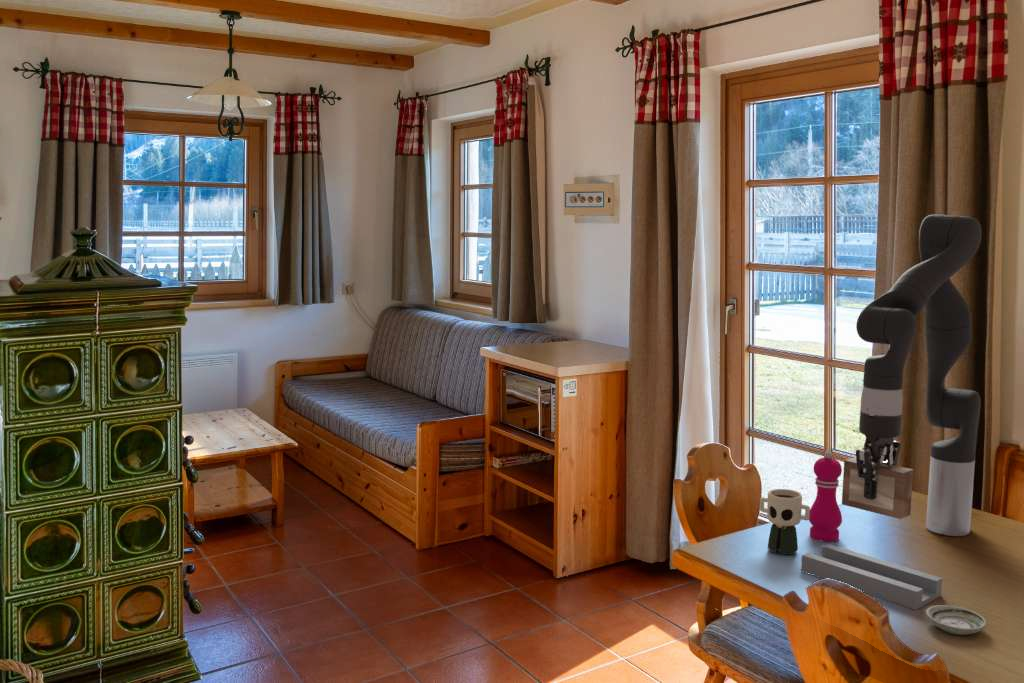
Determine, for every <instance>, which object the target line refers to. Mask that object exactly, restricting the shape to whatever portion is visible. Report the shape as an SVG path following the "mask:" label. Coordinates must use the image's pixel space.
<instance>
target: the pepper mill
mask: <svg viewBox="0 0 1024 683" xmlns="http://www.w3.org/2000/svg"><path fill="white" fill-rule="evenodd" d="M823 455H824V457H820V458H818V459H817V460H816V461H815V462H814V464H813V473H814V474H815V476H816V477H815V479H814V480H815V483H814V484H815V485H816V489H817V491H816V497H815V500H814V501H813V504H812V505H811V507H810V518H809V520H808V522H809V523H810V524H811V527H810V528H809V537H811V538H812V539H814V540H816V541H821V542H828V543H829V542H836V541H838V540H839V539H840V530H839V529H838V528H839V527H840V526H841V524H842V523H843V515H842V512H841V509H840V507H839V504H838V501H837V497H836V496H837V488H838V487H839V479H838V478H840V477H841V474H842V473H843V471H842V470H843V468H842V464H841V463H840V462H839V461H838V460H837V459H836V458H833V452H831V451H829V450H827V451H825V452H824V454H823Z"/></svg>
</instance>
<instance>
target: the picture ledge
mask: <svg viewBox="0 0 1024 683" xmlns="http://www.w3.org/2000/svg"><path fill="white" fill-rule="evenodd" d="M821 554H822V555H821V556H820V555H816V554H813V553H810V552H805V553H804V554H802V555H801V566H800V567H801V570H800V572H801V571H804V572H807V573H810V574H814V575H816V576H819V577H820V578H819V577H818V578H819V579H822V578H830V579H834V580H837V581H841V582H844V583H847V584H849V585H851V586H853V587H855V588H857V589H860V590H862V591H864V592H866V593H865V594H867V595H870V596H873V595H874V596H873V597H875V598H876V597H877V598H879V599H883V600H885V601H888V602H892V603H894V604H896V605H901V606H903V607H906V608H909V609H912V610H915V611H917V610H919V609H921V608H922V607H924V606H925V605H927V604H929V603H931V602H933V601H935V600H936V599H938V598H940V597H942V586H943V578H942V577H940V576H936V575H933V574H929V573H926V572H923V571H920V570H916V569H913V568H909V567H906V566H903V565H899V564H897V563H893V562H890V561H888V560H884V559H880V558H876V557H873V556H870V555H867V554H863V553H860V552H856V551H853V550H851V549H846V548H844V547H839V546H836V545H833V544H830V543H828V544H825V545H823V546H822V552H821ZM804 572H803V573H804ZM807 573H806V574H807ZM810 574H809V575H810ZM816 576H815V577H816ZM864 592H863V593H864Z"/></svg>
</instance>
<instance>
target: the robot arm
mask: <svg viewBox="0 0 1024 683" xmlns="http://www.w3.org/2000/svg"><path fill="white" fill-rule="evenodd" d="M982 234H983V233H982V225H981V223H980V221H979V220H978V219H977V218H975V217H971V216H967V215H966V216H965V215H952V214H951V215H950V214H949V215H948V214H929V215H927V216H926V217H924V218H923V220H922V221H921V224H920V226H919V232H918V249H919V257H920V263H918V264H915V265H913V266H912V267H910V268H909V269H907V270H906V271H905V272H903V273H902V275H900V276H899V278H898V279H897V280H896V282H894V284H893V285H892V287H890V289H889V290H888V291H886V292H885V293H883V294H881V295H880V296H879V297H877V298H876V299H874V300H873V301H871V302H870V303H868V304H867V305H866V306H865V307H864V308H863V309H862V310H861V312H860V313H859V315H858V317H857V320H856V324H855V326H856V332H857V335H858V336H859V338H860V339H861V340H863V341H864V342H867V343H871V344H880V345H889V348H888V350H887V351H886V353H885V354H883V355H882V354H879V355H878V354H877V355H871V356H869V357H867V358H866V359H865V361H864V368H863V382H862V383H863V384H862V391H861V397H860V409H859V410H860V411H859V424H858V425H859V426H858V430H859V433H860V434H862V435H864V436H865V441H864V443H863V448H862V449H858V448H857V449H856V450H855V457H856V461H857V470H858V477H860V478H863V479H865V482H864V497H865V498H867V499H871V500H874V499H876V491H877V477H878V472H879V470H880V469H881V468H882V465H883V464H887V465H894V466H898V465H897V464H898V460H899V456H900V451H901V450H900V449H901V446H902V443H901V441H897V440H894V438H898V437H900V436H901V434H902V421H903V420H902V418H903V405H904V399H903V385H904V384H903V380H904V369H905V365H906V360H907V358H908V354H909V352H910V349H911V346H912V344H913V341H914V339H915V336H916V333H917V327H918V325H917V319H916V316H918V315H919V314H920V313H921V312H922V310H923V309H924V328H925V329H924V330H925V331H924V332H925V344H926V345H925V346H926V359H927V361H926V362H927V363H926V364H927V365H926V366H927V379H926V380H927V381H926V403H925V405H926V406H925V408H926V409H925V410H926V411H925V412H926V413H925V414H926V419H927V422H928V423H929V425H930V426H934V427H937V428H944V429H949V430H950V429H952V430H957V431H958V430H959V431H960V434H959V435H957V436H955V437H953V438H950V439H944V440H939V441H938V440H937V441H935V442H934V443H932V444H931V447H930V456H929V458H930V459H929V460H930V461H929V476H928V490H927V491H928V492H927V503H926V505H927V506H926V507H927V508H926V517H925V520H926V522H925V528H926V529H927V530H928V531H930V532H933V533H935V534H939V535H942V534H943V535H944V536H951V537H963V536H968V535H969V534H970V533H971V521H972V509H973V493H974V480H975V467H976V466H975V464H976V451H977V441H978V440H977V439H978V432H979V431H978V430H979V424H980V415H981V404H982V403H981V401H982V400H981V396H980V394H979V392H977V391H975V390H973V389H972V390H971V389H965V388H963V389H962V388H953V387H946V386H945V385H944V384H945V379H946V377H947V375H948V374H949V372H950V370H951V369H952V368H953V366H954V365H955V364H956V362H958V360H959V359H960V358H961V357H962V356H963V354H964V353H966V351H967V349H968V348H969V347H970V345H971V342H972V338H973V327H972V326H973V321H972V319H973V318H972V317H973V316H972V311H971V309H970V306H969V304H968V302H967V301H966V300H965V298H964V297H963V296H962V294H961V293H960V291H959V290H958V288H957V287H956V286H955V284H954V283H953V281H952V280H951V277H953V275H955V274H956V273H957V272H958V271H959V270H960V269H962V267H964V266H966V264H968V263H969V261H971V260H972V259H973V258H974V256H975V255H976V253H977V252H978V250H979V248H980V245H981V242H982ZM872 462H874V463H877V464H876V465H874V464H872ZM863 468H864V471H863ZM872 468H873V469H874V471H873V470H872Z"/></svg>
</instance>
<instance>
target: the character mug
mask: <svg viewBox="0 0 1024 683" xmlns="http://www.w3.org/2000/svg"><path fill="white" fill-rule="evenodd" d="M765 503H767V508H765ZM810 509H811V507H810V506H809V505H808V504H807V505H806V504H803V494H802V493H801V492H799V491H797V490H793V489H787V488H776V489H775V488H774V489H770V490H768V492H767V497H760V499H759V511H760V512H761V513H766V517H767V520H768V522H770V523H772V524H771V527H770V531H769V537H768V543H767V549H768V550H769V551H771V552H773V553H777V550H779V554H781V555H783V554H784V555H789V554H790V555H791V554H794V553H796V552H797V551H798V548H799V547H798V546H799V544H798V535H797V534H798V533H797V528H796V526H797V525H799V524H800V523H801V520H803V521H809V518H810ZM802 510H804V515H803V514H802Z"/></svg>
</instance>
